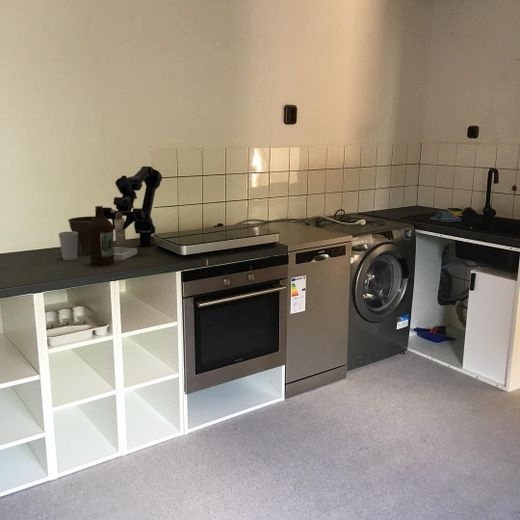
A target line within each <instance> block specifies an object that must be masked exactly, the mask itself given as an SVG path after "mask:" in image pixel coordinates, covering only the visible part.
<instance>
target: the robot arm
mask: <svg viewBox="0 0 520 520" xmlns="http://www.w3.org/2000/svg"><path fill="white" fill-rule="evenodd" d="M162 175H163V174H161V172H160V171H159V170H157V169H154V167H152V166H147V165H145V166H141V168H140V169H139V170H138V171H137V173H135V174H134V175H133V176H128V177H127V175H121V177H119V178H117V179H116V180H115V182H114V183H115V186H116V189H118V192H119V193H120V194H121V195H122V196H121V197H120V196H115V197H114V198H113V205H114V206H115V209H113V208H112V207H104V206H103V210H104V216H105V217H106V218H107V219H108V220H111V221H112V222H111V223H112V225H113V229H114V230H115V223H114V219H116V216H115V214H116V213H117V212H121V213H122V214H123V217H126V218H125V219H124V220H125V223H124V226H123V230H125V231H126V229H127V228H128V227H129V226H130V225H132V224H133V226H134V231H135V234H136V235H137V234H139V244H137V245H136V246H137V247H145V246H150V247H151V245H152V246H154V245H153V243H154V242H153V239H152V235H155V234H156V226H155V225H154V221H153V220H154V219H153V218H152V216H151V214H152V211H153V209H152V208H153V205H154V199H155V194H156V190H157V189H158V188H159V187H160V185H161V182H162V180H163V176H162ZM143 183H144V184H145V191H144V196H143V200H142V206H141V208H139V207H138V208H137V207H135V206H134V202H135V200H137V199H138V197H137V193H136V192H138V191H140V190H141V189H142V188H143ZM152 242H153V243H152Z"/></svg>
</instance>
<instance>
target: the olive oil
mask: <svg viewBox="0 0 520 520" xmlns="http://www.w3.org/2000/svg"><path fill="white" fill-rule="evenodd" d="M103 208H104V206H103V205H97V206H96V205H95V207H94V209H95V210H94V212H95V215H94V216H95V217H94V218H93V219H92V220H91V222H90V223H89V225H88V229H87V231H88V239H89V248H90V254H89V256H90V257H89V258H90V265H91V266H93V267H94V266H95V267H106V266H111V265H114V264H115V260H114V247H115V246H114V242H115V241H114V239H115V238H114V236H115V229H113V224H112V222H111V221H110V219H107V218H106V217H105V216H104V210H103Z"/></svg>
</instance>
